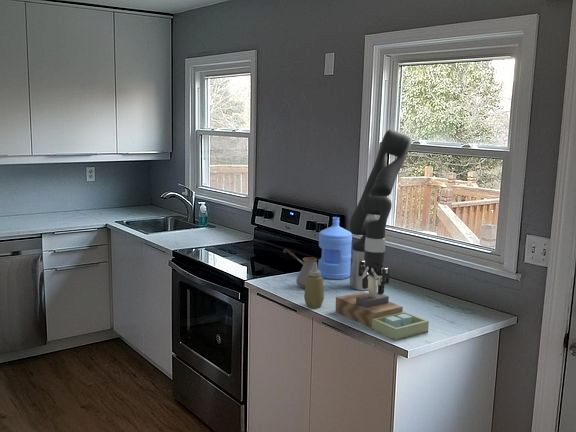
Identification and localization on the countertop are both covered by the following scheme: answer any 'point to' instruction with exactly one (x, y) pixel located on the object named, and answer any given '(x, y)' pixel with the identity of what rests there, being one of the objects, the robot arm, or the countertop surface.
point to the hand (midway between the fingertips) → (372, 291)
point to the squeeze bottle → (314, 288)
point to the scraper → (372, 295)
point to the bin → (402, 332)
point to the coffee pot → (303, 269)
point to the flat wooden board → (364, 309)
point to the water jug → (335, 252)
